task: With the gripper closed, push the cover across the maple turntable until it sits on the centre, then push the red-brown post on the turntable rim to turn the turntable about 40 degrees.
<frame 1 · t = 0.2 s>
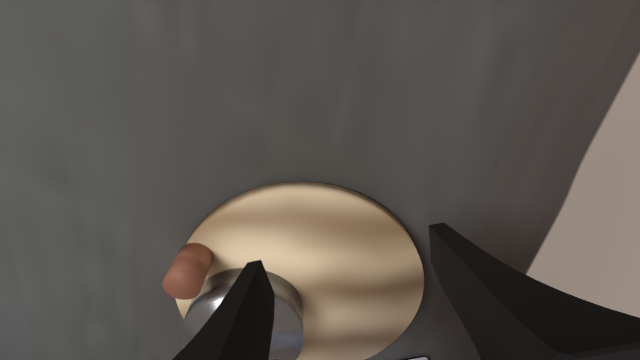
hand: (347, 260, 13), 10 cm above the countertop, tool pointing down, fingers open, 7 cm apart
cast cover: (248, 309, 26), point 2 cm above the countertop, touching turntable
turntable: (301, 306, 25), point 3 cm above the countertop, hinge at 0.0°, touching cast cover
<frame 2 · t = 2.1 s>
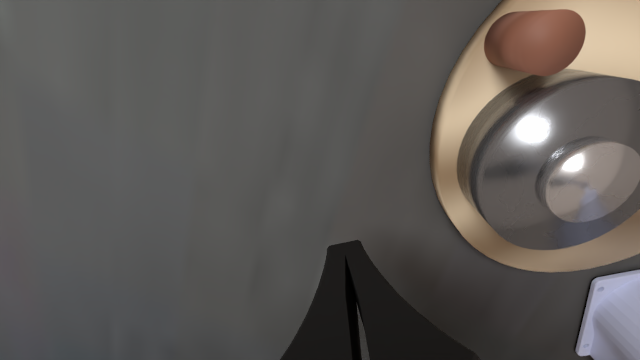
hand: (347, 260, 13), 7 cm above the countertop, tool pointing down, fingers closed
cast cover: (536, 152, 18), point 2 cm above the countertop, touching turntable
turntable: (631, 139, 17), point 3 cm above the countertop, hinge at 0.0°, touching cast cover
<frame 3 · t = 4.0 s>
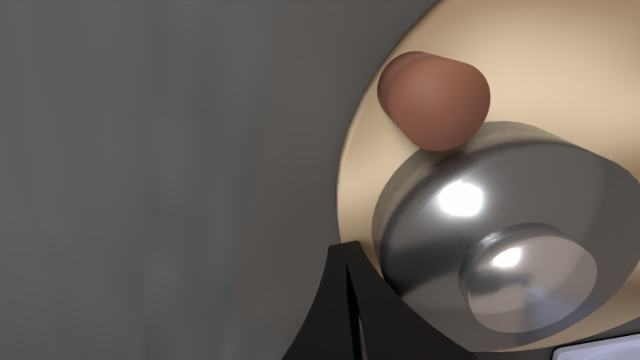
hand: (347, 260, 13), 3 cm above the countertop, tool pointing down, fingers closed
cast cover: (473, 221, 14), point 2 cm above the countertop, touching gripper, turntable
turntable: (583, 211, 13), point 3 cm above the countertop, hinge at 0.0°, touching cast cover
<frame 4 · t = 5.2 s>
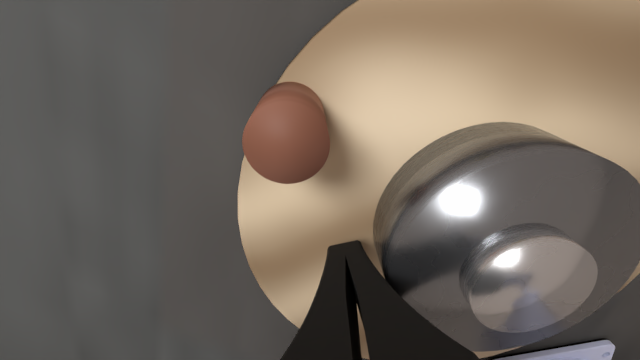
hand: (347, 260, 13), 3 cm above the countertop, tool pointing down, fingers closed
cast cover: (474, 221, 14), point 2 cm above the countertop, touching gripper, turntable
turntable: (476, 232, 13), point 3 cm above the countertop, hinge at 0.0°, touching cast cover
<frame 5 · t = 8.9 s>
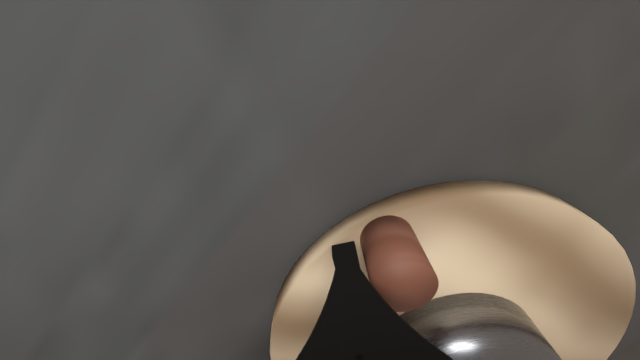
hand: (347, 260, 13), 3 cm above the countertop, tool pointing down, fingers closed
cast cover: (452, 350, 18), point 2 cm above the countertop, touching turntable
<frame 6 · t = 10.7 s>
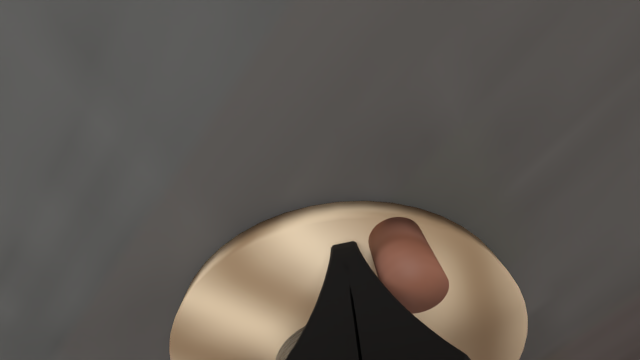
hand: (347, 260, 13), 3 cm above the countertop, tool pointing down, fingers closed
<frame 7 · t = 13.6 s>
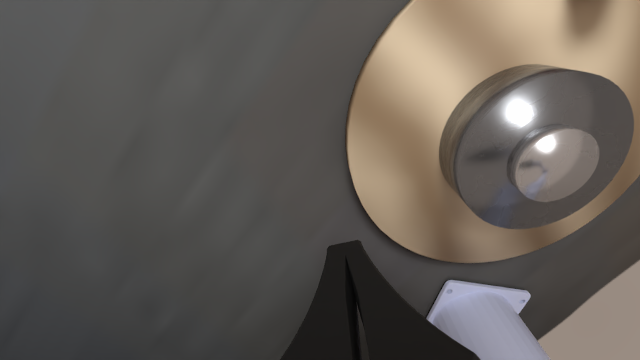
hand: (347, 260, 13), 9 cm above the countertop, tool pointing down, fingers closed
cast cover: (511, 140, 19), point 2 cm above the countertop, touching turntable
turntable: (517, 141, 19), point 3 cm above the countertop, hinge at -42.8°, touching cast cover
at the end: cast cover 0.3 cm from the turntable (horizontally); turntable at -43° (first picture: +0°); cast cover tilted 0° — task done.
